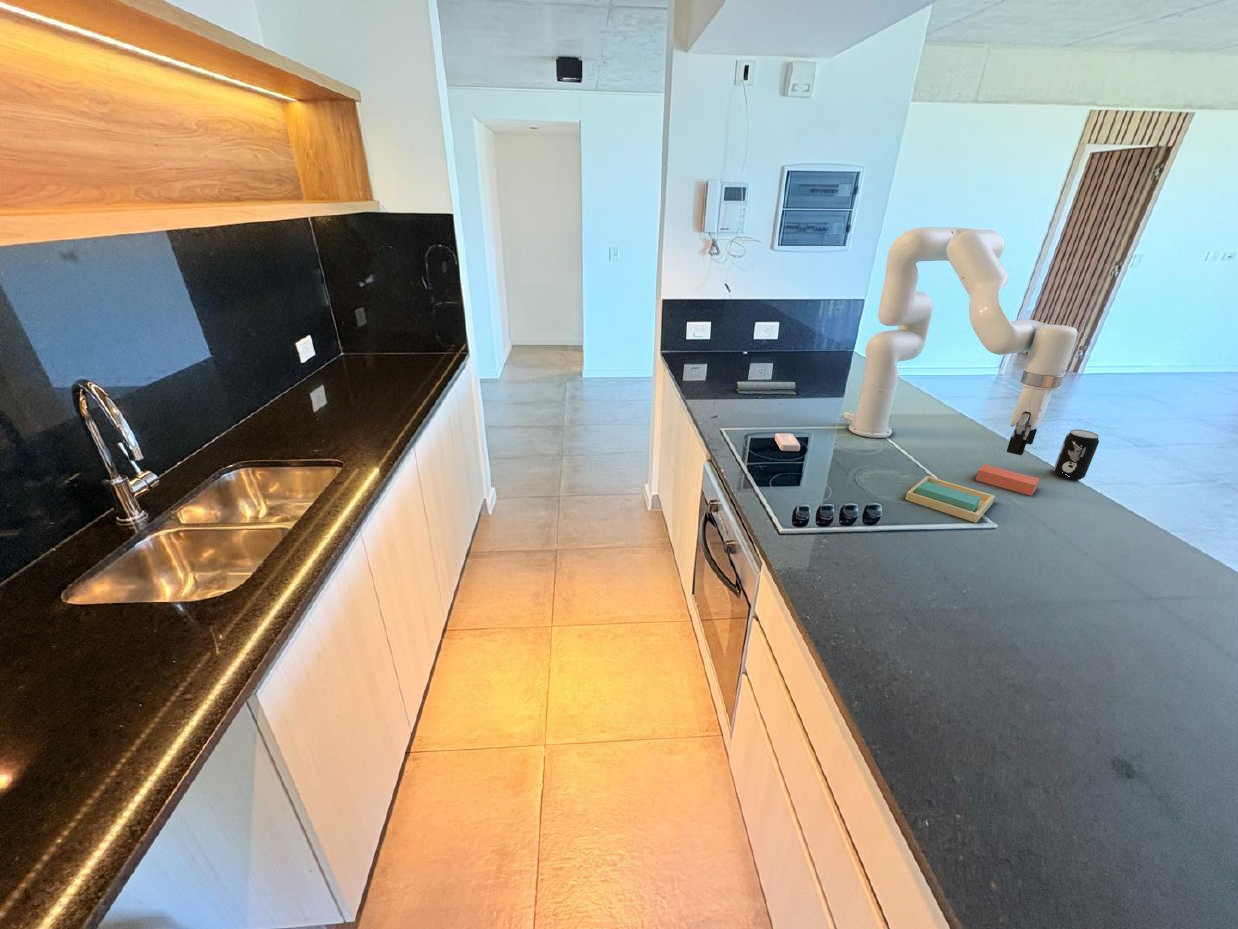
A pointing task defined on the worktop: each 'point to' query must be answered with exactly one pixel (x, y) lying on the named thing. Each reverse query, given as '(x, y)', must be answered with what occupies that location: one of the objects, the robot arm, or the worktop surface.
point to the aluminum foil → (765, 387)
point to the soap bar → (787, 442)
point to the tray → (947, 508)
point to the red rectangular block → (1007, 479)
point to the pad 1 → (949, 496)
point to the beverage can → (1076, 454)
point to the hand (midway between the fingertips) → (1019, 448)
